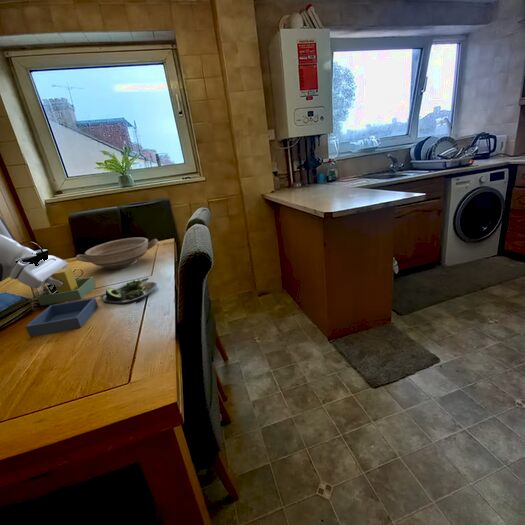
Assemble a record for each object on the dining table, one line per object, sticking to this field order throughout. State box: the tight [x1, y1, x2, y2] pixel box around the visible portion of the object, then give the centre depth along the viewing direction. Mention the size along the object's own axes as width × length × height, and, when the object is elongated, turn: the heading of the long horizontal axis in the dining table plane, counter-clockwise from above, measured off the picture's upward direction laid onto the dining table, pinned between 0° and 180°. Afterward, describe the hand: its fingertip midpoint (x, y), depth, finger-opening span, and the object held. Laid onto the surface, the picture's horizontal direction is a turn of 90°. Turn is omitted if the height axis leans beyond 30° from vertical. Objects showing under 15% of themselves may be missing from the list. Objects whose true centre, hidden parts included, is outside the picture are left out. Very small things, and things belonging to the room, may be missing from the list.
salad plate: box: [99, 277, 158, 306], centre depth 103 cm, size 19×18×5 cm
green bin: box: [36, 276, 96, 307], centre depth 108 cm, size 14×13×4 cm
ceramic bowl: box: [75, 236, 158, 270], centre depth 139 cm, size 37×29×10 cm
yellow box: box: [51, 267, 79, 293], centre depth 107 cm, size 5×5×10 cm
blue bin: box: [25, 297, 99, 338], centre depth 88 cm, size 14×13×4 cm
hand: (66, 281), depth 107 cm, fingers closed on yellow box, 5 cm apart
